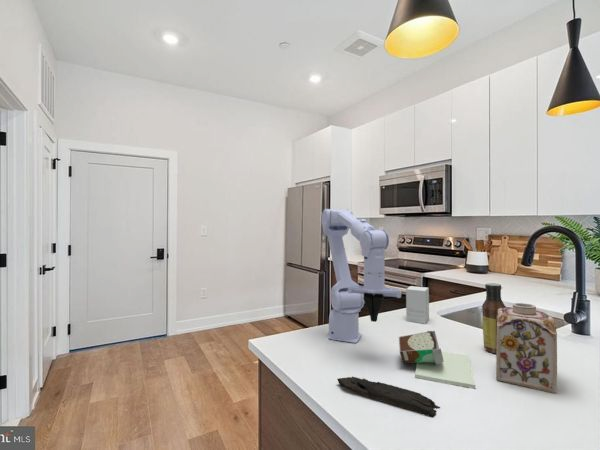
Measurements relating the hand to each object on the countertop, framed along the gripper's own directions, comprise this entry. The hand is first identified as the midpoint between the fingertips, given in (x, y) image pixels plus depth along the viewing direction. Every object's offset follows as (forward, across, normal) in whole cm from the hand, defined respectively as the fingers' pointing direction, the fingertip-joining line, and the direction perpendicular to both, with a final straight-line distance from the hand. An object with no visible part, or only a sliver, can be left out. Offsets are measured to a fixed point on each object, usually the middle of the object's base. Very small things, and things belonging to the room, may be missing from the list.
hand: (374, 320), depth 90 cm
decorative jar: (+11, +36, +3) cm, 38 cm away
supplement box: (+11, +9, +42) cm, 44 cm away
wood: (+11, +6, -19) cm, 23 cm away
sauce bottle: (+11, +32, +19) cm, 39 cm away
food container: (+9, +7, 0) cm, 11 cm away
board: (+10, +18, +1) cm, 21 cm away
